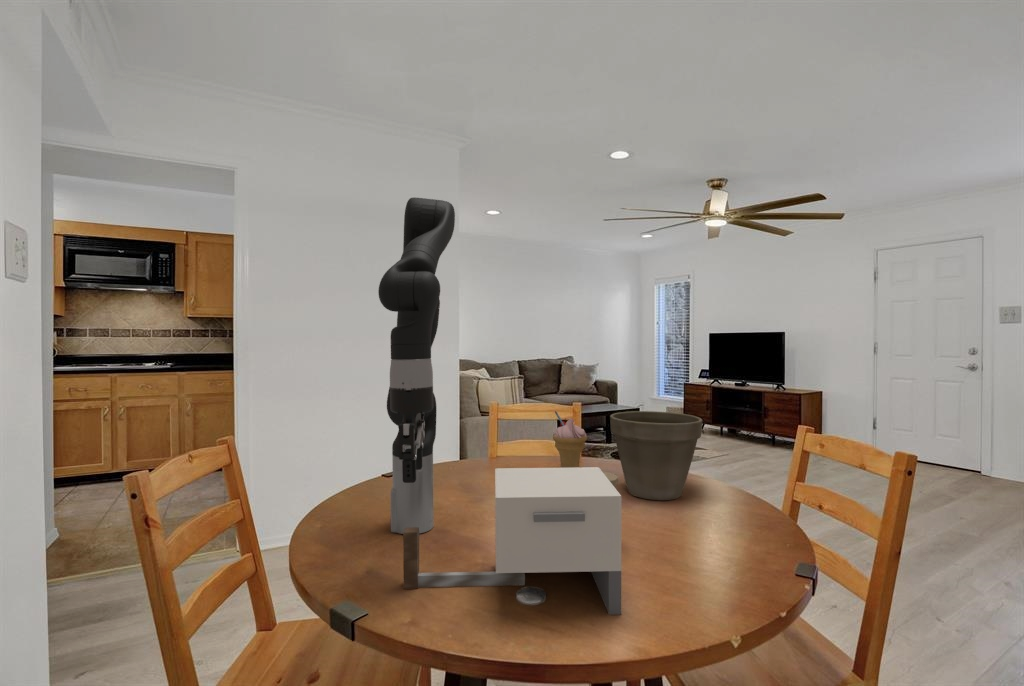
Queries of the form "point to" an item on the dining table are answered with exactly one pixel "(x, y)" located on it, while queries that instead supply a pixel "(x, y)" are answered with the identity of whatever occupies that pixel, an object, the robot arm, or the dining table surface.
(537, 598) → the ball
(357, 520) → the dining table surface
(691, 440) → the plant pot
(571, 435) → the ice cream cone
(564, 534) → the cabinet
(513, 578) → the blade tool
